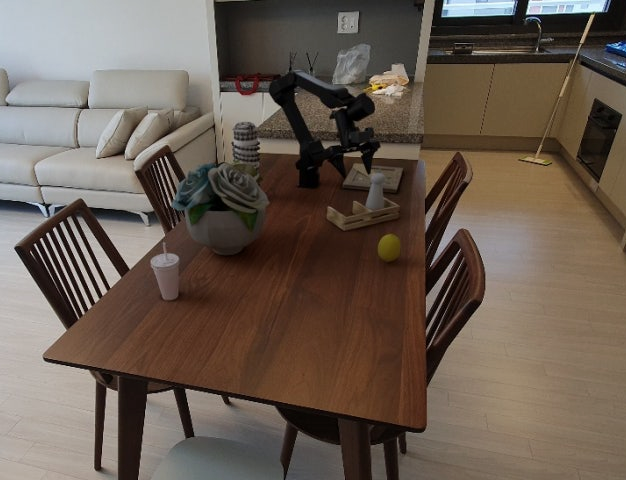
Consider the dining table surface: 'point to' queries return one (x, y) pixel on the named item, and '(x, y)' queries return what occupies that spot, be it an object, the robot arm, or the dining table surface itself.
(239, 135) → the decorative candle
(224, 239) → the flower arrangement
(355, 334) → the dining table surface
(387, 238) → the lemon
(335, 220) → the rack
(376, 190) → the salt shaker
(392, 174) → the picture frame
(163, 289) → the smoothie
